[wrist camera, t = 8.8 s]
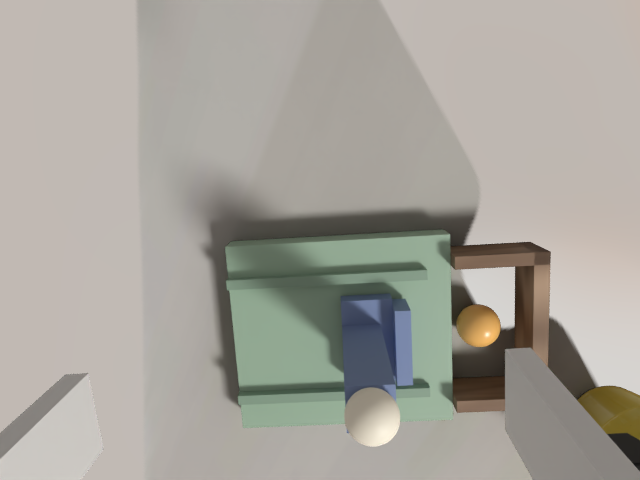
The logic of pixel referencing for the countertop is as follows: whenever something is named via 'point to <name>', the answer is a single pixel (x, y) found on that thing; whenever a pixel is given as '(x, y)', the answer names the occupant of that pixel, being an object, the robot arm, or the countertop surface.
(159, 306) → the countertop surface
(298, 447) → the countertop surface
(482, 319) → the ball
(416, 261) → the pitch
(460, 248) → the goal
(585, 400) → the plant pot
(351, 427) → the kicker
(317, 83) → the countertop surface
